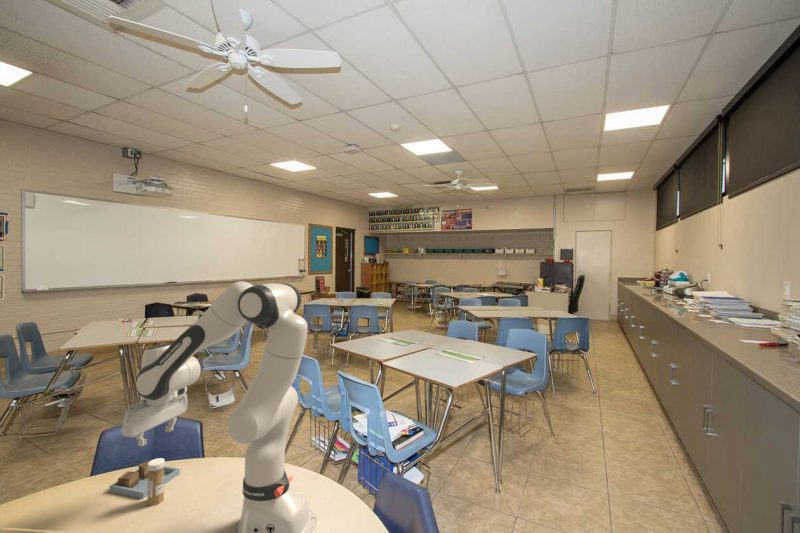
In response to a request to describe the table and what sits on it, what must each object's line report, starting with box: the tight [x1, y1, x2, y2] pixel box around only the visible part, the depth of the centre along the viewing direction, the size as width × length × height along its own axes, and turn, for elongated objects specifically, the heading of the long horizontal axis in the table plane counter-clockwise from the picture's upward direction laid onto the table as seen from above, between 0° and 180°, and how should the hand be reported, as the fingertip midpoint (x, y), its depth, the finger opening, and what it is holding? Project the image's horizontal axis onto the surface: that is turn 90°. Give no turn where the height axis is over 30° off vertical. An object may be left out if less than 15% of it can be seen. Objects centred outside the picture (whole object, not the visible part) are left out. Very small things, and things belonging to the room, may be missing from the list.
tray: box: [109, 465, 181, 499], centre depth 121 cm, size 14×14×2 cm
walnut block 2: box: [138, 459, 153, 480], centre depth 125 cm, size 4×4×4 cm
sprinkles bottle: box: [146, 457, 166, 507], centre depth 112 cm, size 5×5×14 cm
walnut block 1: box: [117, 470, 139, 488], centre depth 119 cm, size 4×4×4 cm
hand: (156, 437), depth 112 cm, fingers open, 8 cm apart
